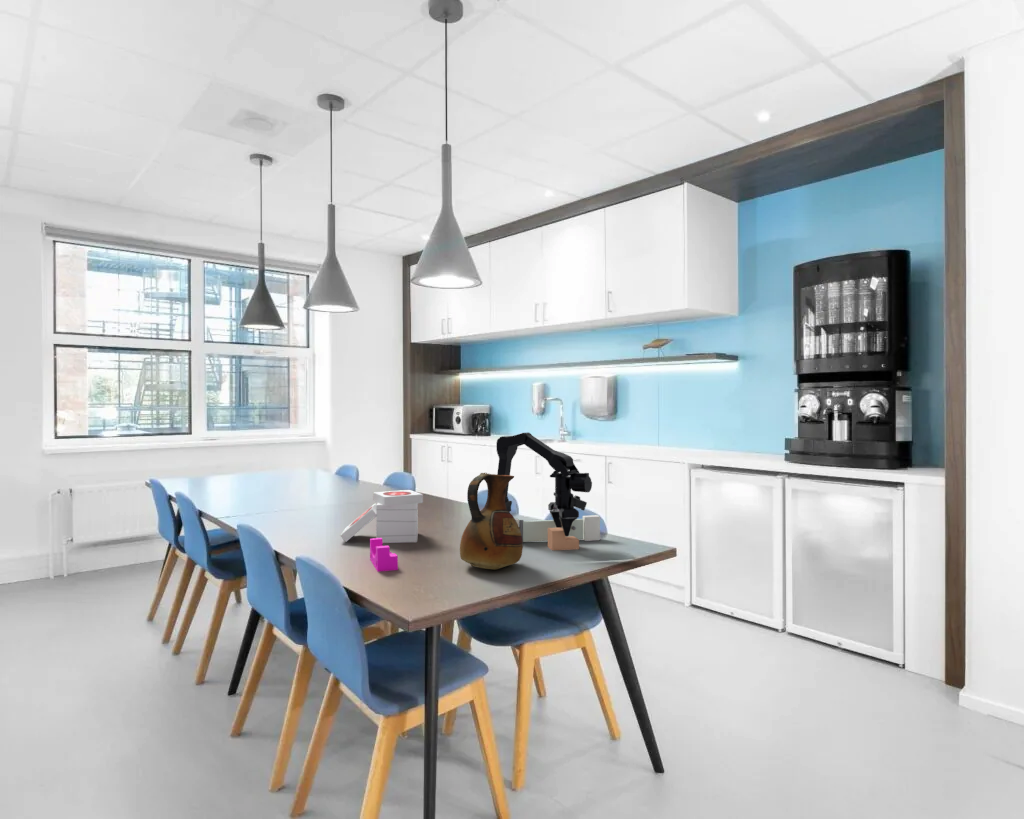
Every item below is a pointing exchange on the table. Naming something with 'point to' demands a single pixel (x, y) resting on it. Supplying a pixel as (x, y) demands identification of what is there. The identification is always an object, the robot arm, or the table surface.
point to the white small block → (588, 527)
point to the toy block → (382, 556)
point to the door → (546, 529)
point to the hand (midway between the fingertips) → (563, 533)
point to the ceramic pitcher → (491, 527)
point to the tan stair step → (561, 540)
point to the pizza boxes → (390, 517)
